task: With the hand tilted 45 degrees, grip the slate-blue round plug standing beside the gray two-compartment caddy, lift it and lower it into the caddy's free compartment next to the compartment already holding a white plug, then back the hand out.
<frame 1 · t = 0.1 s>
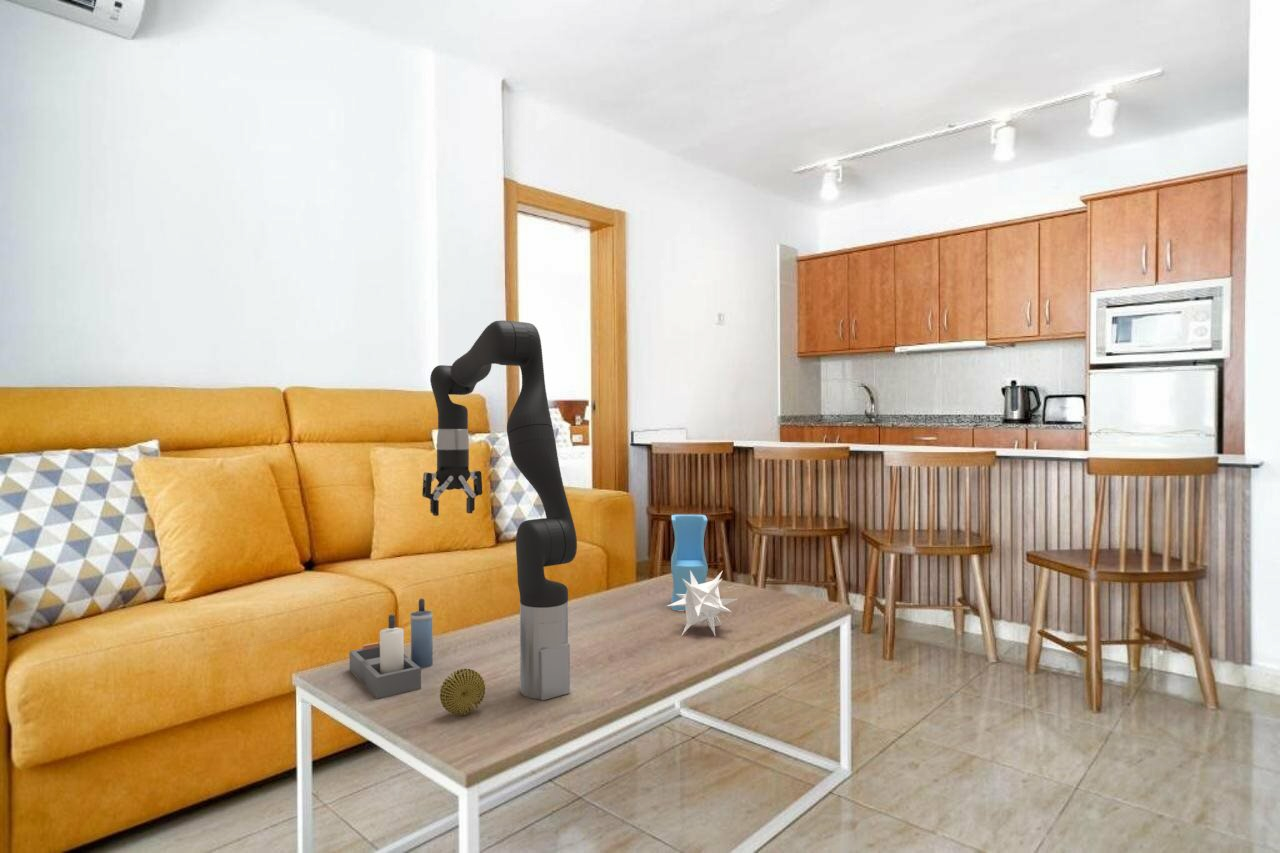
hand: (452, 514, 172), 29 cm above the table, fingers open, 8 cm apart
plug: (421, 664, 151), on the table
sculpture: (462, 715, 126), on the table
star ornament: (702, 631, 175), on the table
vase: (688, 607, 197), on the table
gray two-compartment caddy: (384, 678, 143), on the table
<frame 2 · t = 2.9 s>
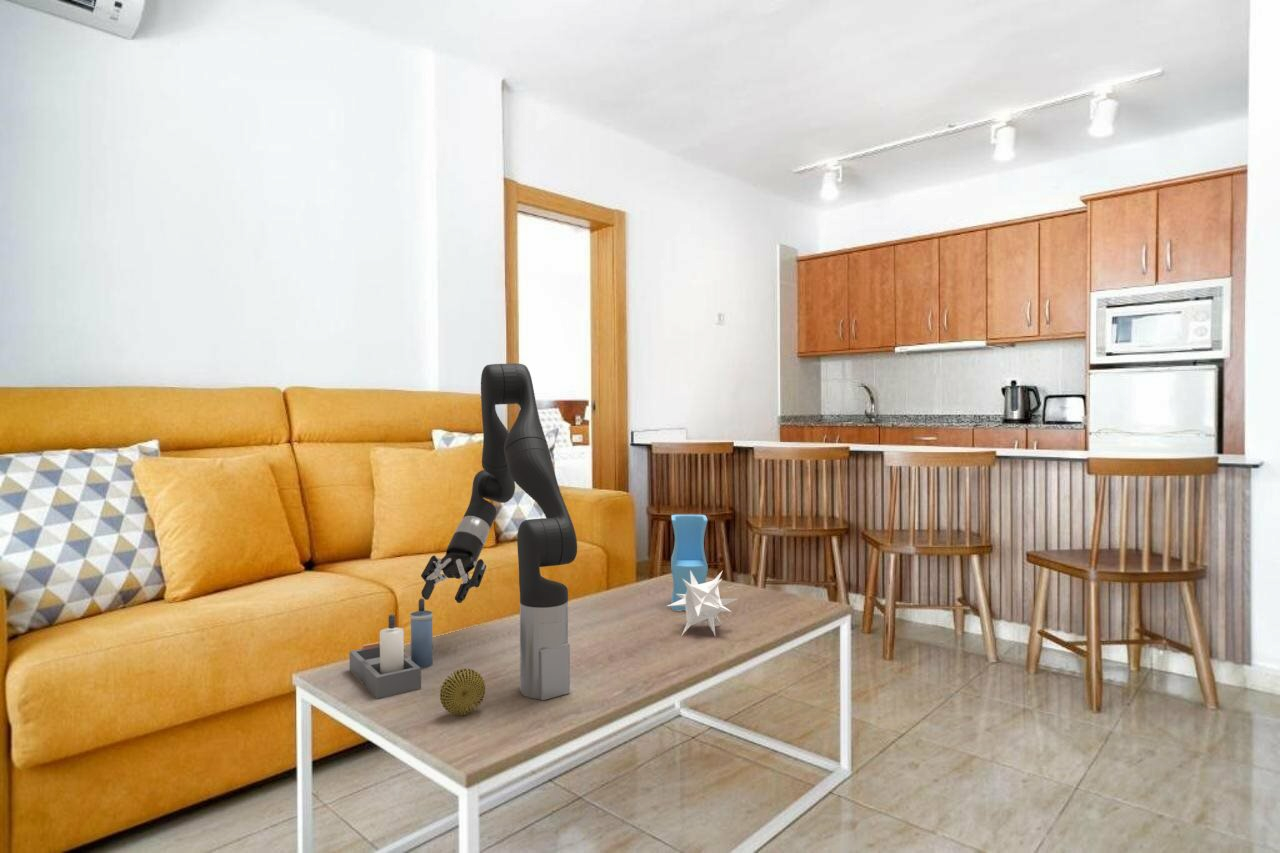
hand: (441, 599, 158), 12 cm above the table, fingers open, 8 cm apart
nothing on the table moved.
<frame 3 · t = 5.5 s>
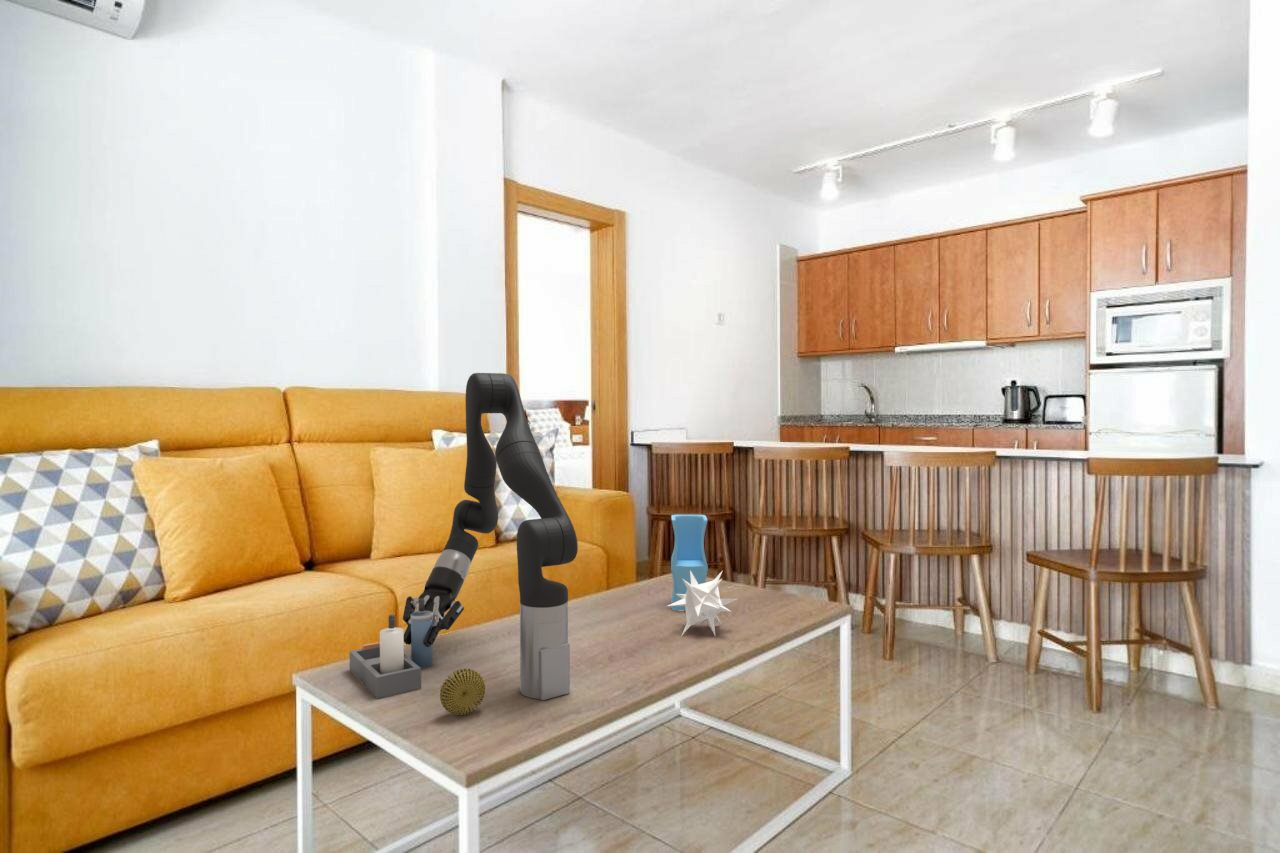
hand: (416, 643, 149), 5 cm above the table, fingers closed on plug, 4 cm apart
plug: (422, 664, 151), on the table, touching gripper
everything else where it was.
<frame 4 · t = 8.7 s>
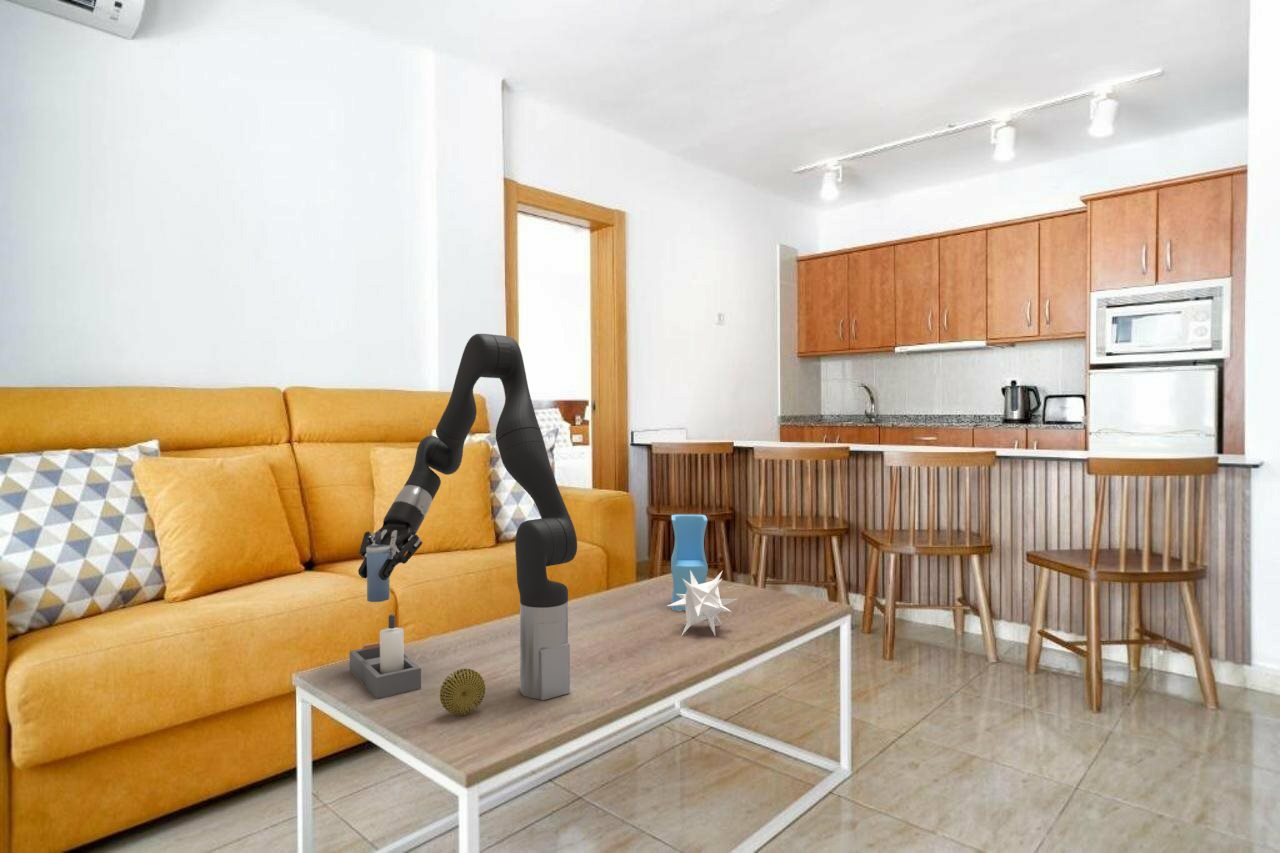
hand: (372, 576, 145), 20 cm above the table, fingers closed on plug, 4 cm apart
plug: (378, 599, 147), point 15 cm above the table, touching gripper
everything else where it was.
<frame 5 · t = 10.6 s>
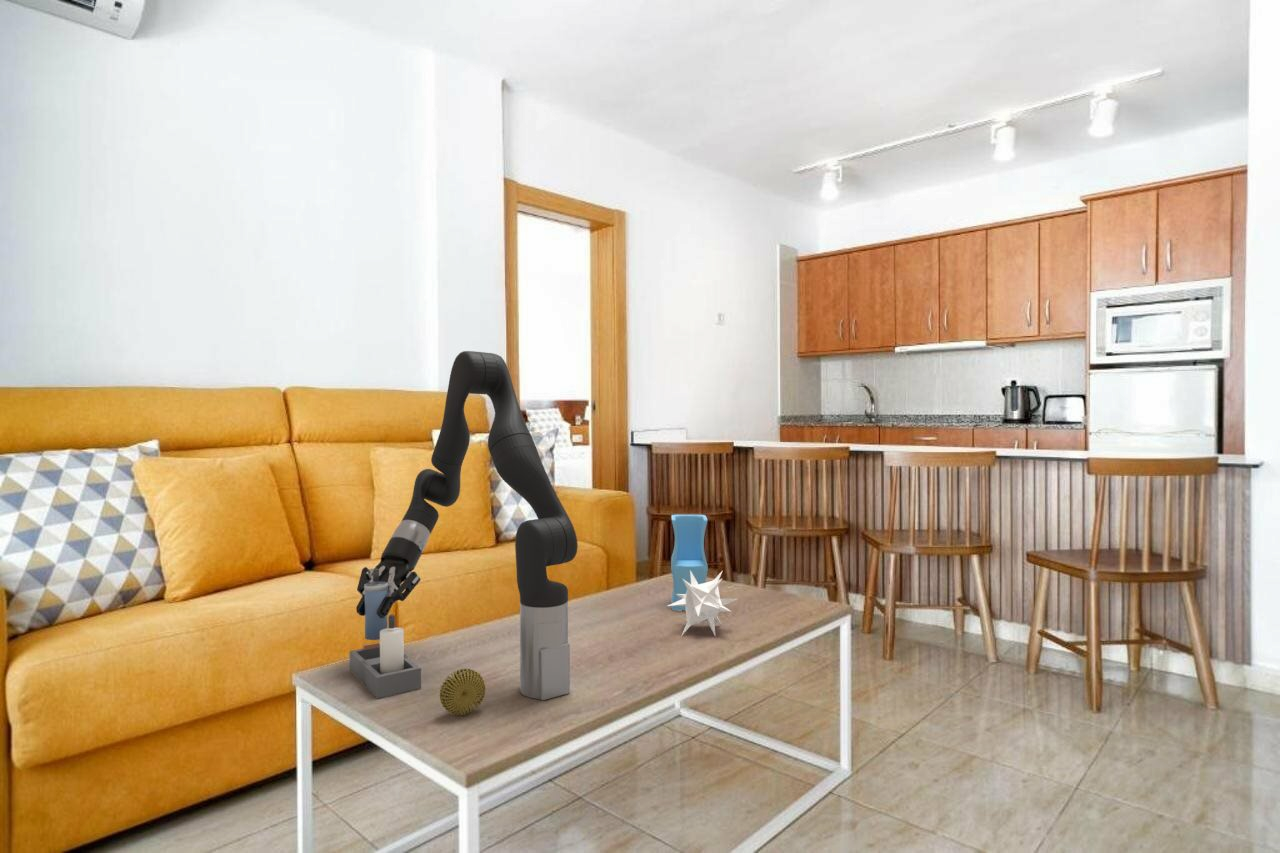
hand: (370, 614, 145), 12 cm above the table, fingers closed on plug, 4 cm apart
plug: (376, 636, 147), point 7 cm above the table, touching gripper
everything else where it was.
when the fingers open (8 cm above the table, at t = 12.2 s): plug drops 2 cm, resting in gray two-compartment caddy.
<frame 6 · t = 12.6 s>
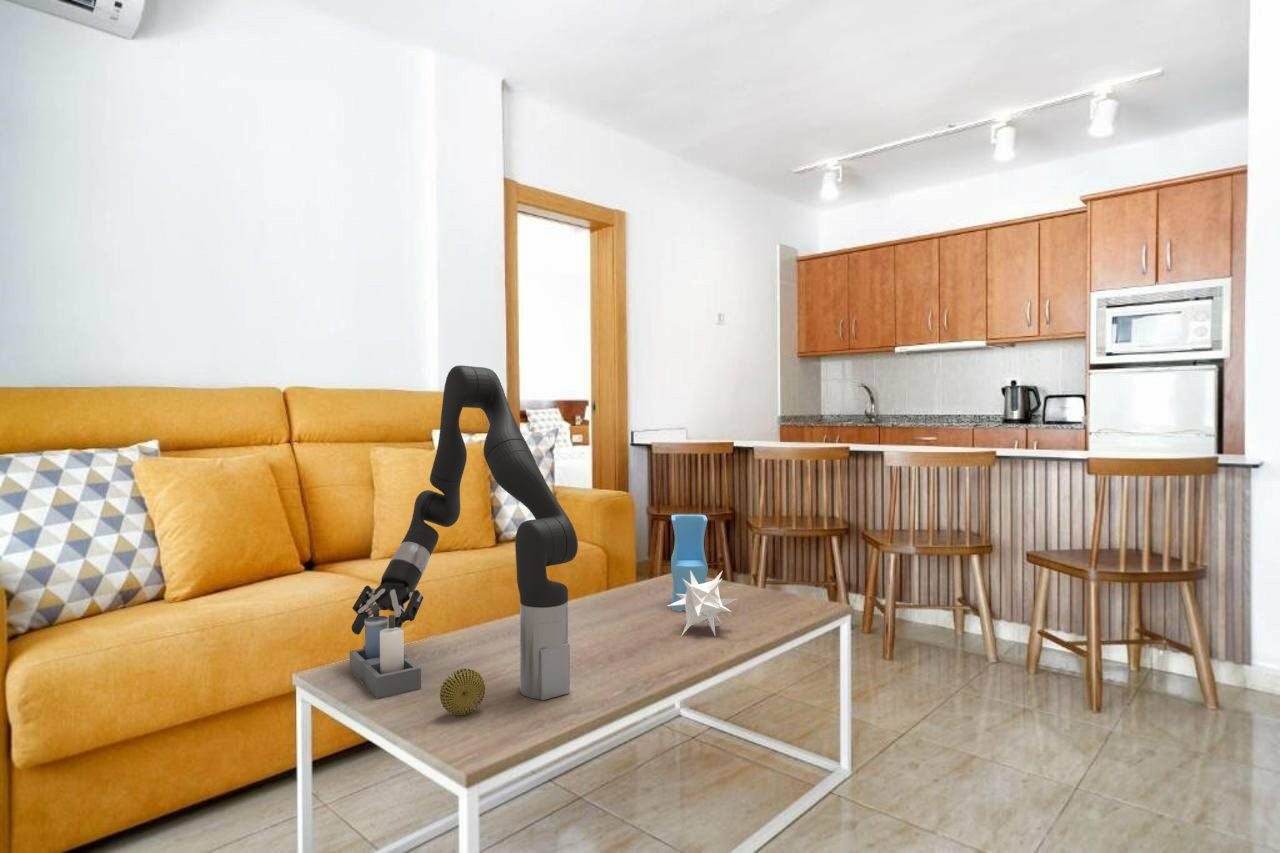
hand: (371, 634, 145), 8 cm above the table, fingers open, 8 cm apart
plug: (376, 671, 147), resting in gray two-compartment caddy
everything else where it was.
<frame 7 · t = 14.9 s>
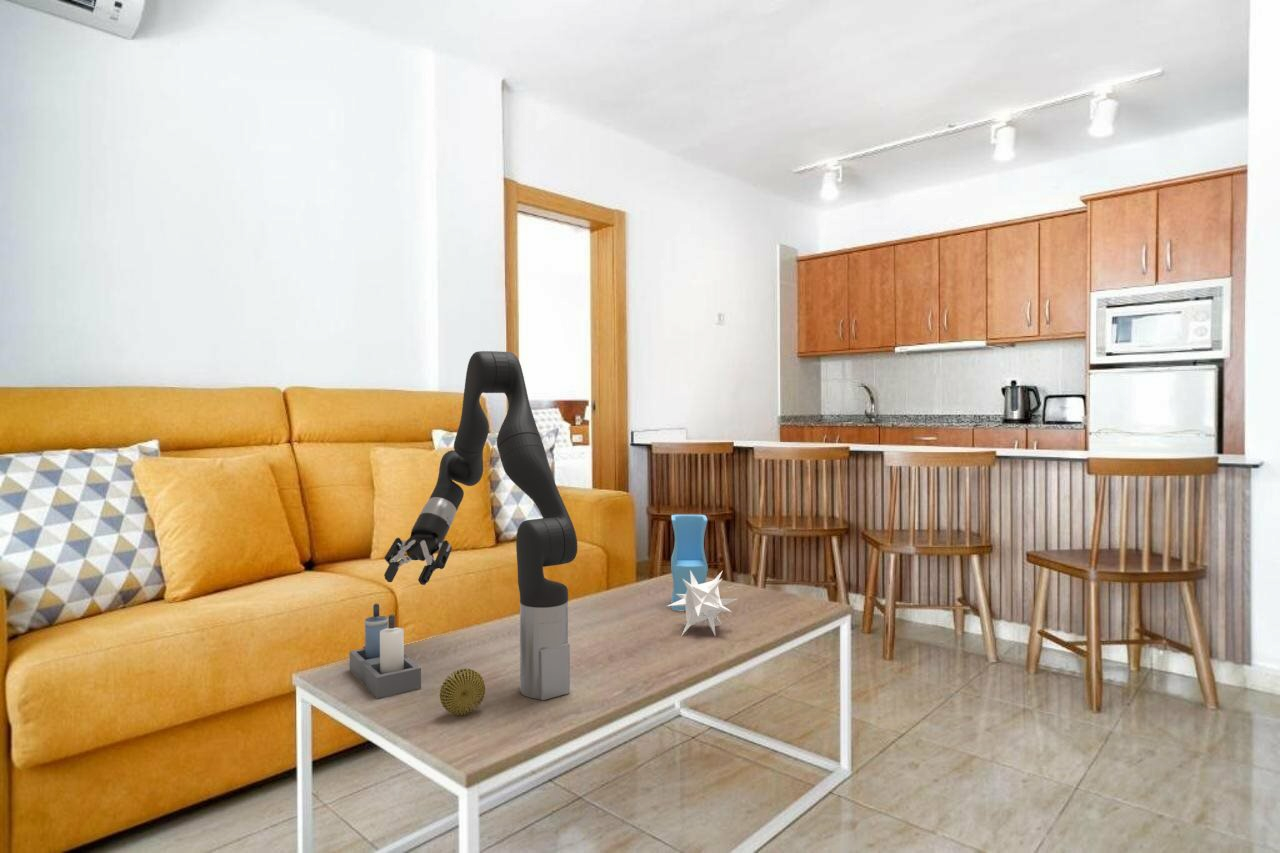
hand: (404, 581, 153), 17 cm above the table, fingers open, 8 cm apart
nothing on the table moved.
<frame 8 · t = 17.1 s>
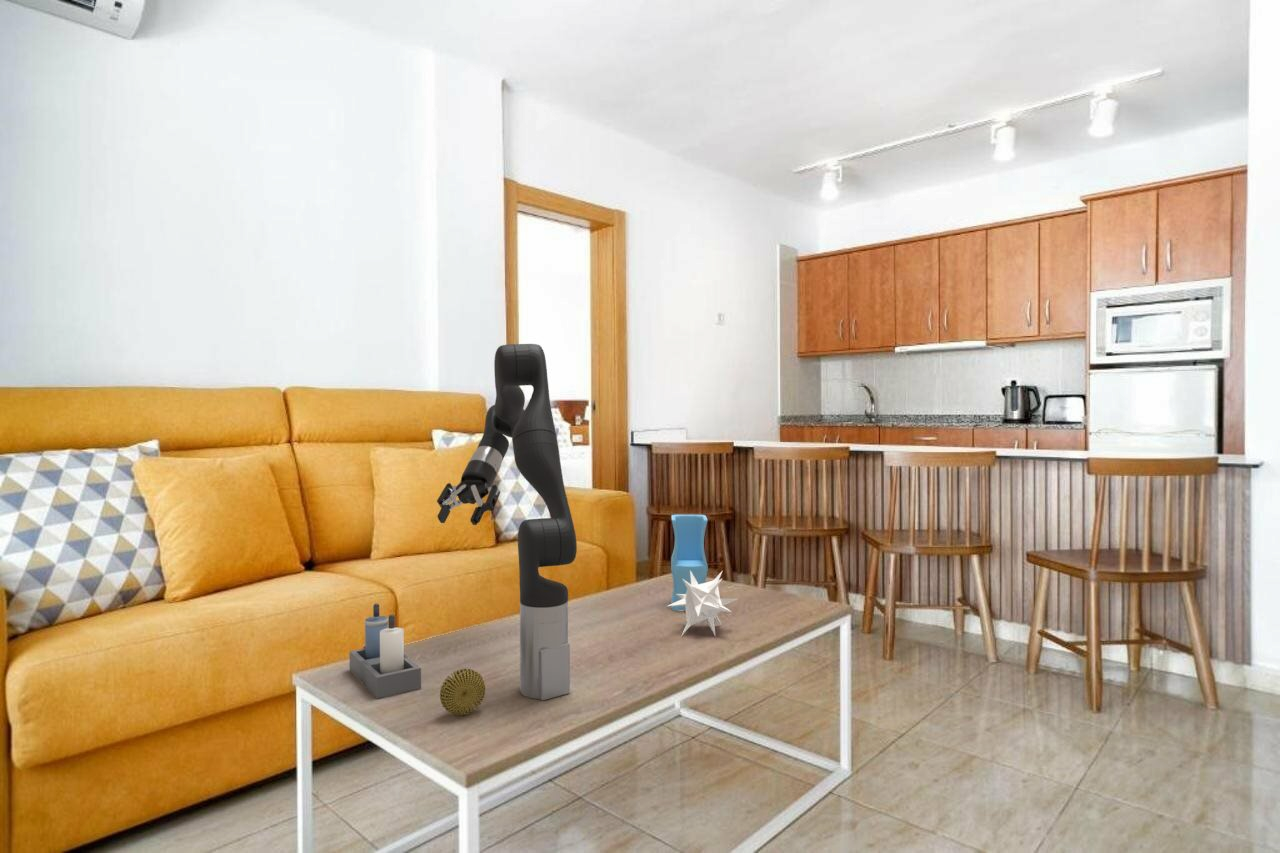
hand: (456, 522, 163), 29 cm above the table, fingers open, 8 cm apart
nothing on the table moved.
at the end: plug 0.1 cm from the target spot on the gray two-compartment caddy, point 0.0 cm above the gray two-compartment caddy's base; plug tilted 0°; the gripper is holding nothing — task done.
